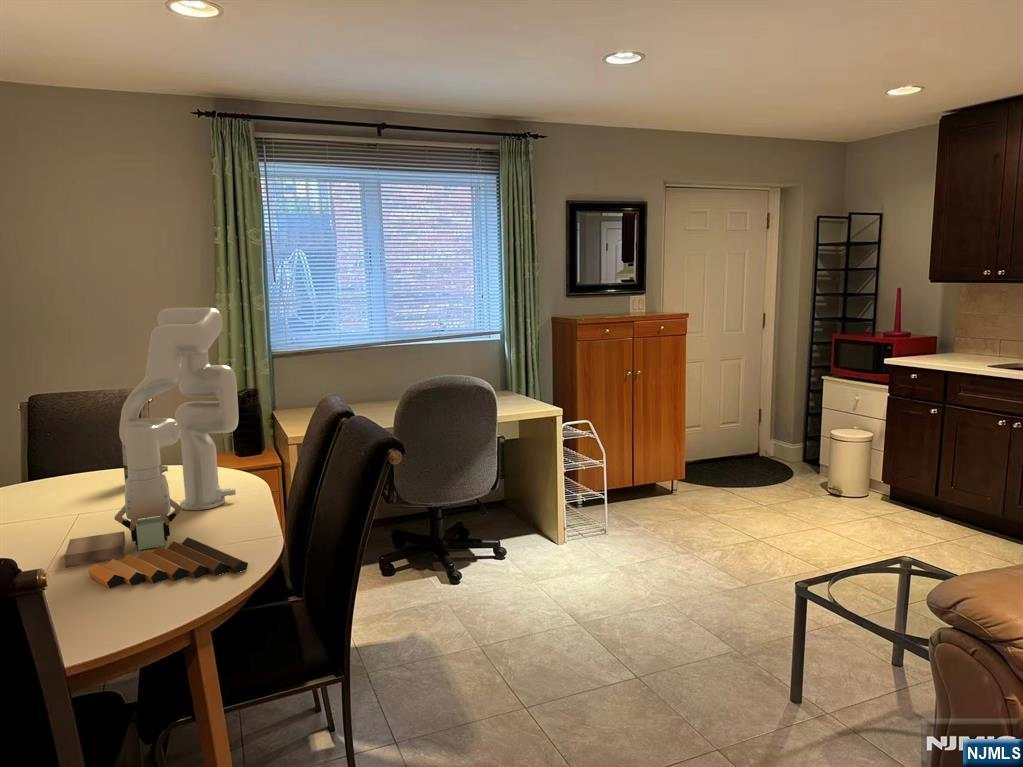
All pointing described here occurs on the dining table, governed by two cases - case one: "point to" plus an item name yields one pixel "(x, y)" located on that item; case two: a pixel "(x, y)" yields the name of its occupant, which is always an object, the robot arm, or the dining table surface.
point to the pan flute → (167, 564)
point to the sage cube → (150, 533)
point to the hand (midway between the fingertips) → (151, 540)
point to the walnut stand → (95, 549)
